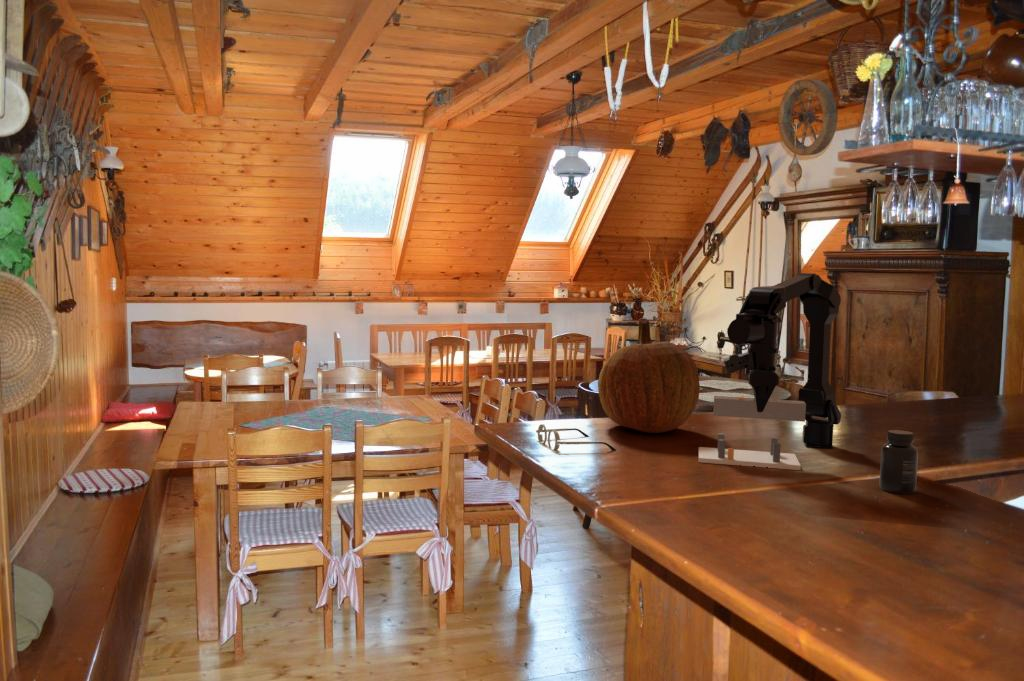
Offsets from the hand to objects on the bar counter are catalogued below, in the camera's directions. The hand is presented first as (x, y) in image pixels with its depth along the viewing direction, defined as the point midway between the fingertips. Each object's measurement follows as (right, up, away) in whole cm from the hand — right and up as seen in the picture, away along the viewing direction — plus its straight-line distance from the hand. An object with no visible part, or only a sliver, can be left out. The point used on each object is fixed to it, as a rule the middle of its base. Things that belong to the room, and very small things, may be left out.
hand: (759, 410), depth 191 cm
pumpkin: (-21, -8, +33) cm, 40 cm away
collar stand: (-2, -12, +1) cm, 12 cm away
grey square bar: (0, -2, 0) cm, 2 cm away
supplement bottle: (+22, -15, -21) cm, 34 cm away
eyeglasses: (-41, -10, +13) cm, 45 cm away
